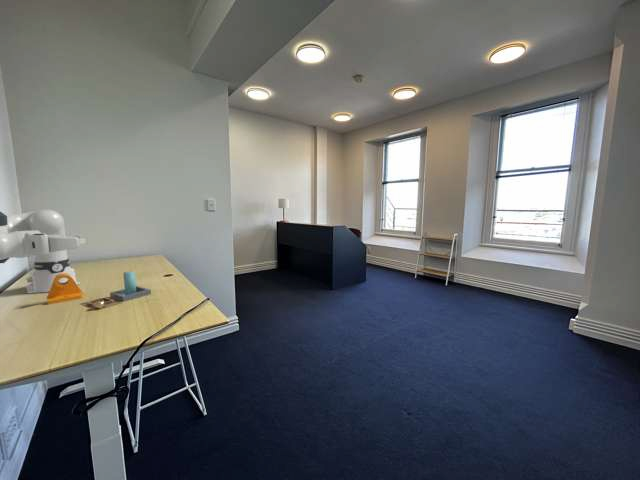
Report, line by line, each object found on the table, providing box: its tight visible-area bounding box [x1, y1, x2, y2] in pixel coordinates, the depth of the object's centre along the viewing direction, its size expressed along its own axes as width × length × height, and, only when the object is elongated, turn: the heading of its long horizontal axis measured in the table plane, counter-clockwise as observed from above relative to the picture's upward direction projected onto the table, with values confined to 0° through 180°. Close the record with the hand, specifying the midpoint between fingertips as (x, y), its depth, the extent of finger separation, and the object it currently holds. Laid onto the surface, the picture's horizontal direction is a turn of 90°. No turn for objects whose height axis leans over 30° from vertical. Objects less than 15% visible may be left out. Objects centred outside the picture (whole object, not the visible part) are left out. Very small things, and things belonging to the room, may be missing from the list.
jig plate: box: [80, 296, 122, 311], centre depth 105 cm, size 14×9×2 cm, turn 62°
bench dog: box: [94, 301, 106, 311], centre depth 100 cm, size 3×3×2 cm
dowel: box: [123, 270, 137, 296], centre depth 114 cm, size 4×4×11 cm
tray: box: [109, 285, 152, 303], centre depth 115 cm, size 11×11×3 cm
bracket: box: [46, 273, 84, 305], centre depth 109 cm, size 11×7×12 cm, turn 136°
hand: (84, 239), depth 99 cm, fingers open, 8 cm apart
